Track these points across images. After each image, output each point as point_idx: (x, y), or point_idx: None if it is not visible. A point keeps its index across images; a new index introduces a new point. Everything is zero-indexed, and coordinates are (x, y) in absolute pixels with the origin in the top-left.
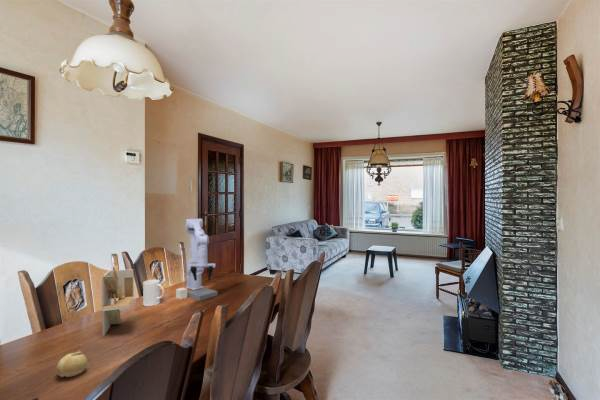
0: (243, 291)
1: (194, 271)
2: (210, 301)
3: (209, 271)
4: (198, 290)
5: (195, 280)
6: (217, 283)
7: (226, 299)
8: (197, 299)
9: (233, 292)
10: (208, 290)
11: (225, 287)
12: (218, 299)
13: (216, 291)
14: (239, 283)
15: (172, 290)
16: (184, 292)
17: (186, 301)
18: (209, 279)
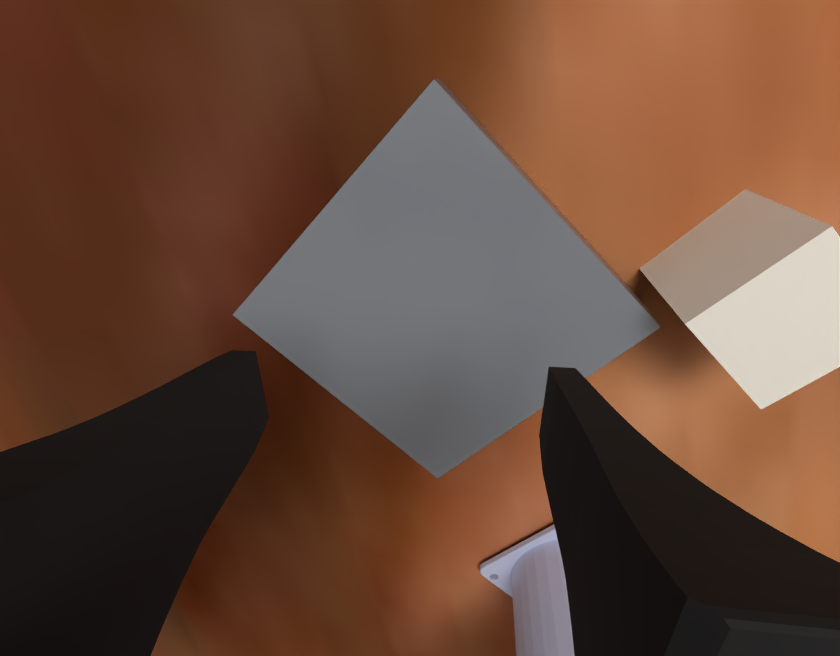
0: (23, 383)
1: (660, 536)
2: (260, 15)
3: (17, 473)
4: (506, 390)
5: (556, 369)
6: (378, 637)
7: (68, 93)
8: (476, 119)
9: (114, 368)
10: (366, 366)
11: (265, 529)
12: (179, 108)
13: (242, 306)
14: (178, 600)
15: (832, 548)
16: (716, 267)
17: (641, 63)
18: (218, 356)
